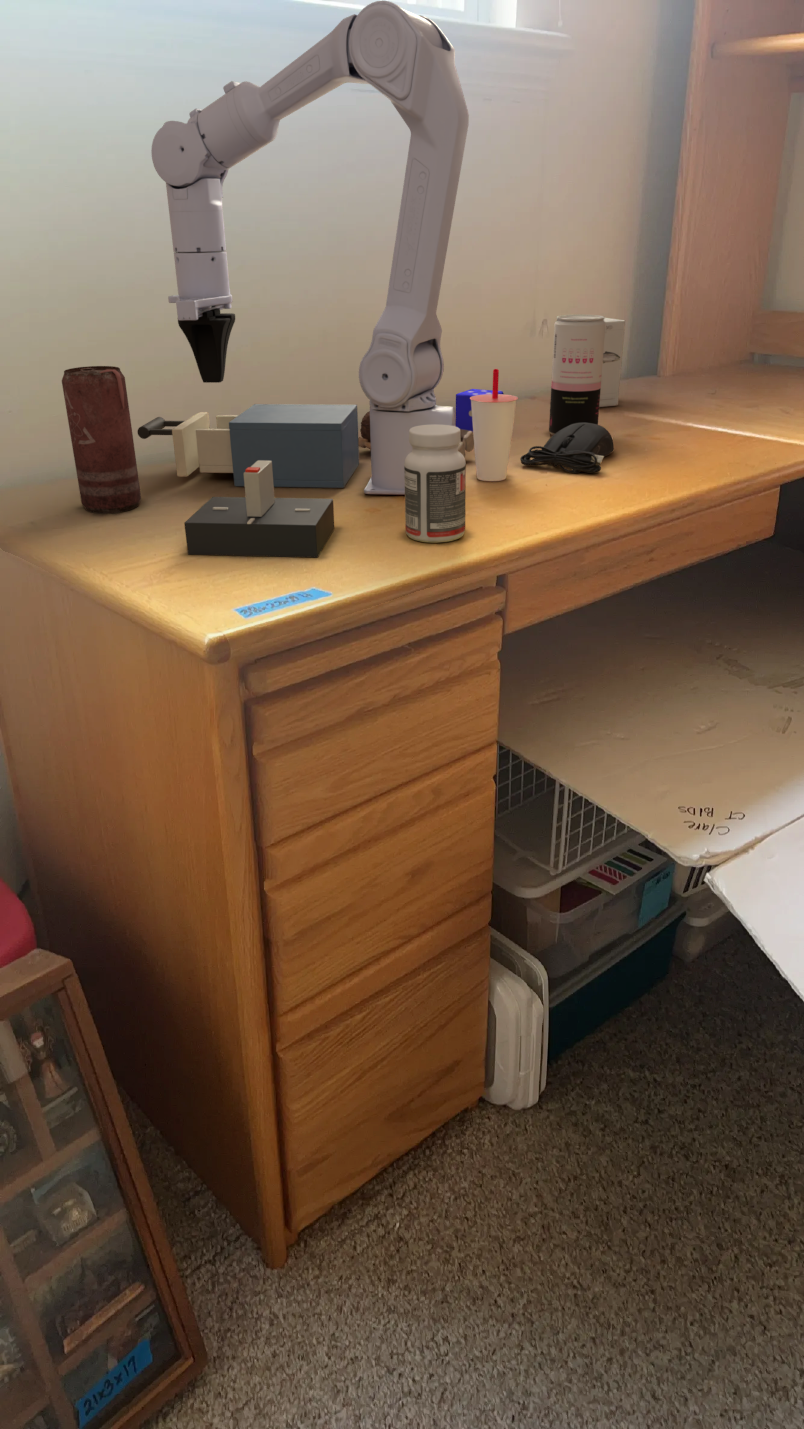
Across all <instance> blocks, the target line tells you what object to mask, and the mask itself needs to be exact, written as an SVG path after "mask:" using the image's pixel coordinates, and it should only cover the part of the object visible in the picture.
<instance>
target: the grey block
mask: <svg viewBox="0 0 804 1429" xmlns="http://www.w3.org/2000/svg"><path fill="white" fill-rule="evenodd" d="M244 485H245V486H244V495H245V496H244V497H246V508H247V516H248V517H262V516H263V515H264V514H265V513H266V512H267V510H268V509H269V508H270V507H271V506H272V505H273V504H274V503H275V499H274V498H275V490H274V489H275V487H274V485H273V471H272V461H264V460H258V461H257V462H255V463H254V464H253V465H252V466H251V467H248V468H247V469H246V470H245V472H244Z"/></svg>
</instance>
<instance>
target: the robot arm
mask: <svg viewBox="0 0 804 1429" xmlns="http://www.w3.org/2000/svg"><path fill="white" fill-rule="evenodd" d="M455 59H456V49H455V47H454V46H453V44H452V43H451V42H450V40H449V39H448V38H447V36H446V34H445V33H444V32H443V30H442V29H441V28H440V27H439V26H438V25H437V23H436V22H435V21H433V20H432V19H430V18H429V17H426V16H424V15H419V14H415V13H413V12H411V11H408V10H406V9H403V8H402V7H401V6H400V5H398V4H396V3H394V2H392V1H389V0H376V1H373V2H371V3H369V4H367V5H366V6H364V7H363V8H362V9H361V11H359V13H358V14H355V13H354V14H351V15H348V16H346V17H344V18H343V19H342V20H340V22H338V24H337V25H336V26H335V27H334V28H333V30H331V32H329V33H328V34H327V35H326V36H324V37H323V38H321V39H320V40H319V41H318V42H316V43H315V44H314V45H312V46H311V47H310V48H309V49H307V50H306V51H305V52H303V53H302V54H301V55H299V56H298V57H297V58H296V59H294V60H293V61H291V63H289V64H288V65H286V66H285V67H284V68H282V69H281V70H280V71H279V72H278V73H276V74H275V75H274V76H272V77H270V79H269V80H267V81H266V82H265V83H263V84H262V85H261V86H259V85H257V84H255V83H253V82H250V81H246V80H245V81H242V82H239V81H235V80H234V81H233V80H231V81H230V82H228V83H227V84H225V85H224V86H223V87H222V89H223V92H224V94H223V95H222V96H220V97H218V98H217V99H216V100H215V101H213V102H212V103H210V104H209V105H207V106H206V107H204V108H194V109H193V110H191V111H189V115H188V116H189V118H188V120H187V122H186V123H185V122H182V121H179V120H167V121H165V122H164V123H163V124H162V126H161V127H160V128H159V129H158V130H157V131H156V134H155V135H154V137H153V139H152V143H151V152H150V154H151V159H152V164H153V167H154V169H155V172H156V173H157V175H158V176H159V177H160V179H161V180H162V181H164V182H165V188H166V196H167V205H168V206H167V207H168V214H169V224H170V233H171V242H172V250H173V259H174V268H175V269H174V270H175V277H176V285H177V286H176V287H177V294H175V295H174V294H173V295H169V296H168V297H167V299H168V303H169V304H175V305H176V314H177V324H178V327H179V328H180V329H181V332H182V333H183V334H184V336H185V339H187V342H188V344H189V346H190V349H191V350H192V354H193V356H194V359H195V362H196V366H197V369H198V372H199V375H200V378H201V380H202V382H203V383H206V384H207V383H208V384H211V383H215V384H217V383H218V384H219V383H222V382H223V381H224V378H225V373H226V372H225V371H226V361H227V352H228V344H229V340H230V337H231V334H232V333H231V332H232V330H233V327H234V324H235V323H236V314H235V313H233V312H232V313H231V312H229V313H228V312H226V313H225V312H224V313H221V310H230V309H233V308H232V307H233V305H232V303H233V302H234V301H233V300H234V299H233V294H231V287H230V275H229V265H228V253H227V242H226V241H227V240H226V230H225V229H226V228H225V220H224V219H225V218H224V209H223V208H224V206H223V199H224V192H223V191H224V190H223V187H224V182H225V179H226V177H227V176H228V174H229V170H230V169H232V168H233V167H235V166H236V165H237V164H239V163H241V162H242V161H243V160H245V159H247V158H248V157H251V155H253V154H255V153H256V152H258V151H259V150H262V149H263V148H264V147H266V146H267V145H268V144H270V143H272V142H274V141H275V140H276V138H277V135H278V131H279V126H280V122H281V120H283V119H284V118H286V117H288V116H289V115H291V114H293V113H295V112H296V111H298V110H300V109H301V108H304V107H306V106H307V105H309V104H311V103H313V102H314V101H316V100H317V99H319V98H321V97H323V96H325V95H326V94H328V93H330V92H331V91H333V90H335V89H337V88H338V87H341V86H342V85H344V84H349V83H350V84H362V85H370V86H371V87H372V88H374V89H375V90H377V91H378V92H379V93H381V94H382V95H383V96H384V97H386V98H387V99H388V100H390V102H391V104H392V106H393V107H394V108H395V110H396V111H397V113H398V114H399V116H400V117H401V119H402V121H403V122H404V124H406V126H407V127H408V129H409V131H410V137H409V146H408V152H407V159H406V167H405V172H404V177H403V178H404V179H403V184H402V193H401V199H400V206H399V213H398V220H397V226H396V234H395V240H394V248H393V254H392V255H393V256H392V260H391V268H390V276H389V280H388V281H389V282H388V289H387V295H386V300H385V301H386V303H385V307H384V309H383V311H382V312H381V315H380V316H379V318H378V320H377V322H376V324H375V326H374V328H373V331H372V335H371V336H372V337H371V341H370V345H369V347H368V349H367V351H366V352H365V353H364V355H363V357H362V358H361V361H360V363H359V366H358V367H359V368H358V380H359V385H360V387H361V390H362V392H363V394H364V395H365V396H366V398H367V399H368V400H369V401H368V402H369V411H370V439H371V449H370V468H371V470H370V471H371V472H370V473H371V475H370V476H371V477H370V479H369V480H368V482H367V483H366V486H365V487H364V489H363V494H365V495H393V496H395V495H396V496H399V495H400V496H403V495H404V496H405V471H404V464H405V459H406V457H407V455H408V454H409V453H411V452H412V446H411V444H410V443H409V430H410V429H411V428H412V427H415V426H420V425H431V424H440V425H450V426H455V419H456V408H455V407H454V406H447V405H438V404H437V398H436V394H435V389H436V388H437V386H438V385H439V384H440V382H441V380H442V378H443V374H444V370H445V362H444V358H443V353H442V349H441V338H442V335H443V334H442V333H443V329H442V326H441V323H440V321H439V318H438V315H437V309H438V305H439V298H440V294H441V287H442V282H443V274H444V270H445V264H446V258H447V252H448V248H449V247H448V246H449V241H450V235H451V228H452V224H453V218H454V212H455V206H456V199H457V194H458V188H459V182H460V176H461V172H462V171H461V170H462V165H463V158H464V153H465V148H466V141H467V136H468V131H469V130H468V129H469V125H470V124H469V122H470V121H469V120H470V114H469V109H468V105H467V102H466V98H465V95H464V92H463V88H462V84H461V81H460V77H459V74H458V70H457V67H456V61H455Z"/></svg>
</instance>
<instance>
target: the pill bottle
mask: <svg viewBox="0 0 804 1429" xmlns="http://www.w3.org/2000/svg"><path fill="white" fill-rule="evenodd" d="M460 442H461V439H460V429H459V428H458V427H455V426H450V425H440V424H431V425H420V426H415V427H412V428H411V429H410V430H409V443H410V444H411V446H412V452H411V453H409V454H408V455H407V457H406V459H405V464H404V471H405V495H404V522H405V523H404V525H405V528H404V529H405V534H406V535H407V537H408V538H410V539H411V540H414V541H417V542H421V543H428V544H429V543H431V544H436V543H437V544H441V543H447V542H449V543H450V542H453V541H456V540H458V539H460V538H462V537H463V536H464V535H465V532H466V500H467V499H466V496H467V494H466V488H467V487H466V485H467V484H466V483H467V482H466V480H467V479H466V478H467V476H466V474H467V464H466V457H465V458H464V456H463V455H462V454H461V453H460V452H459V451H458V445H459V443H460Z"/></svg>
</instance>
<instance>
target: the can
mask: <svg viewBox="0 0 804 1429" xmlns="http://www.w3.org/2000/svg"><path fill="white" fill-rule="evenodd" d="M61 384H62V385H61V386H62V391H63V392H62V393H63V398H64V404H65V405H64V406H65V410H66V416H67V424H68V429H69V434H70V441H71V446H72V447H71V448H72V453H73V454H72V455H73V458H74V459H73V460H74V466H75V471H76V479H77V483H78V490H79V496H80V503H81V505H82V506H83V508H84V509H85V510H86V511H87V512H90V513H94V514H116V513H124V512H129V511H131V510H134V509H136V508H137V507H139V506H140V503H141V501H142V494H141V486H140V479H139V471H138V464H137V457H136V450H135V442H134V435H133V428H132V419H131V412H130V406H129V405H130V404H129V398H128V391H127V382H126V377H125V375H124V374H123V373H122V371H121V367H118V366H111V365H91V366H78V367H73V368H68V369H65V370H63V376H62V378H61Z"/></svg>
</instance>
